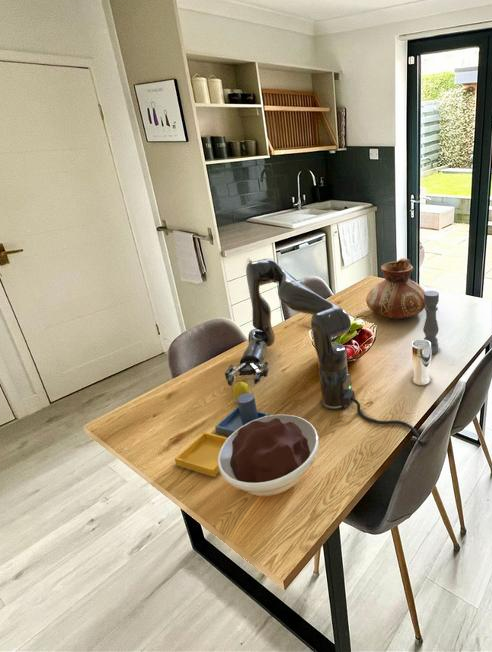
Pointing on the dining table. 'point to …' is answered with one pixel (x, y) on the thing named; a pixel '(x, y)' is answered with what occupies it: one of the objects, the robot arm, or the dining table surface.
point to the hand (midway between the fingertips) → (242, 382)
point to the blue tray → (233, 422)
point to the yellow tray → (202, 454)
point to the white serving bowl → (268, 454)
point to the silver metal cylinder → (421, 361)
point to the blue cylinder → (247, 408)
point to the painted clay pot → (396, 292)
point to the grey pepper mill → (431, 319)
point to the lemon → (240, 389)
